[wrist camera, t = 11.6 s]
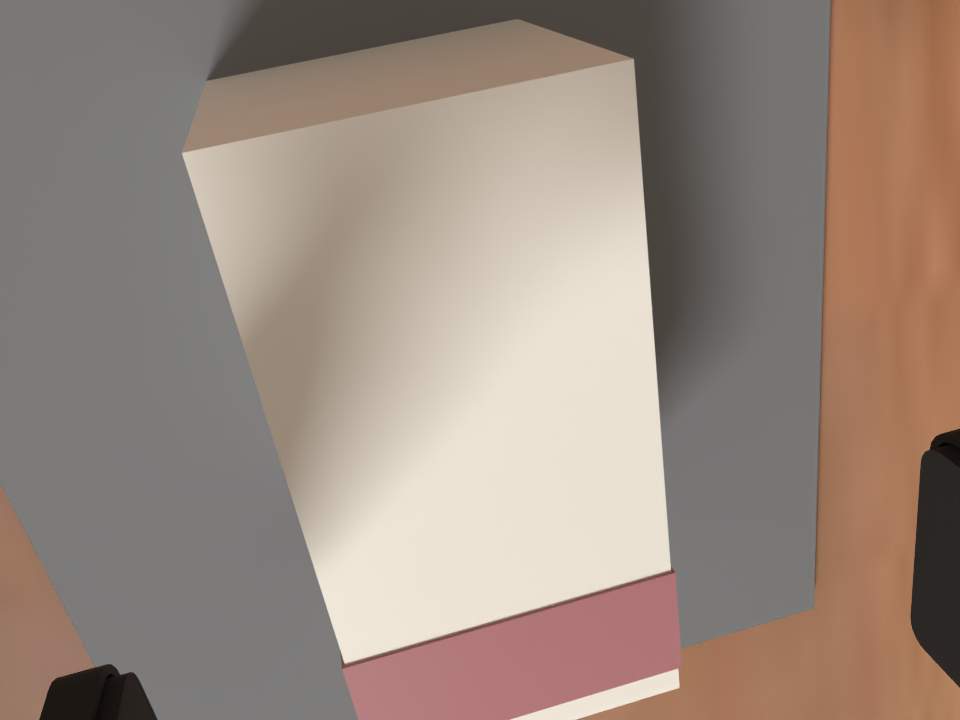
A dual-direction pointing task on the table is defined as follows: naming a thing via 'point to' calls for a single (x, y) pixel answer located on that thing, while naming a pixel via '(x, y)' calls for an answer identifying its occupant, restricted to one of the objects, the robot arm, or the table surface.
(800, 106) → the mat
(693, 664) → the table surface
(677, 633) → the card box
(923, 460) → the robot arm
